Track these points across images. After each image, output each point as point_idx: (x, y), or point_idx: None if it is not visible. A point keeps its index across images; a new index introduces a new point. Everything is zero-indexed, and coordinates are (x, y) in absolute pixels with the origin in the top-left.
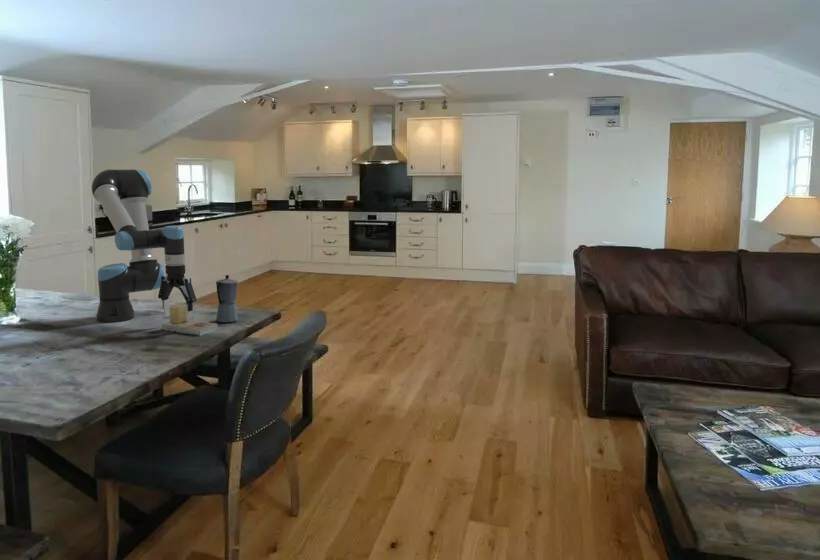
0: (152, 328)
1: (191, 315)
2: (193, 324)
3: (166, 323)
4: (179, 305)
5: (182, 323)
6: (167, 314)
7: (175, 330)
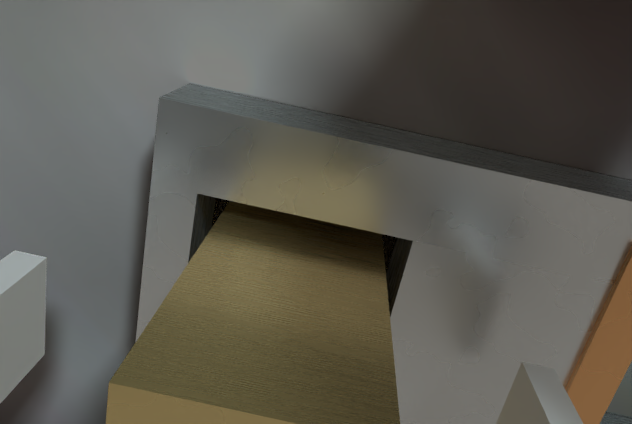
0: None
1: (567, 417)
2: (594, 408)
3: None
4: (187, 406)
5: None
6: (32, 329)
7: None
